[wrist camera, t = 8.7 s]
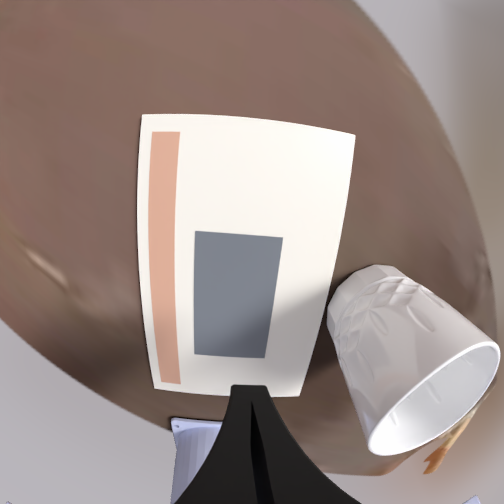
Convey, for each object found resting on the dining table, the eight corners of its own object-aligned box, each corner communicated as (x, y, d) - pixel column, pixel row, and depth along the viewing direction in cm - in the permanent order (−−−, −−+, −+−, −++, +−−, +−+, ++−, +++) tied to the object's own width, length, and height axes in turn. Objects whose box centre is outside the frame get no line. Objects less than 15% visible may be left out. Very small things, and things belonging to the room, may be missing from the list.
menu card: (298, 394, 21) (298, 396, 21) (154, 386, 20) (154, 388, 20) (354, 135, 14) (355, 135, 14) (143, 115, 13) (141, 114, 13)
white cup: (306, 350, 19) (342, 467, 10) (332, 249, 17) (421, 354, 7) (393, 347, 20) (450, 435, 11) (426, 260, 17) (520, 333, 8)
